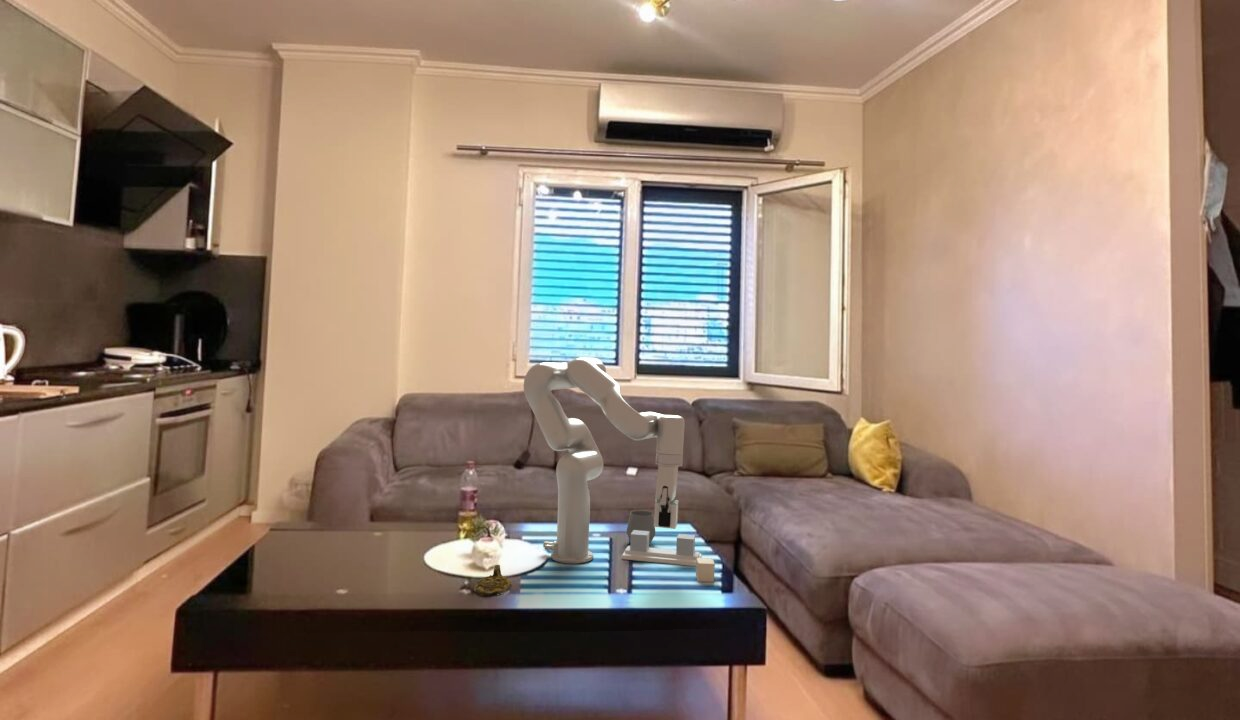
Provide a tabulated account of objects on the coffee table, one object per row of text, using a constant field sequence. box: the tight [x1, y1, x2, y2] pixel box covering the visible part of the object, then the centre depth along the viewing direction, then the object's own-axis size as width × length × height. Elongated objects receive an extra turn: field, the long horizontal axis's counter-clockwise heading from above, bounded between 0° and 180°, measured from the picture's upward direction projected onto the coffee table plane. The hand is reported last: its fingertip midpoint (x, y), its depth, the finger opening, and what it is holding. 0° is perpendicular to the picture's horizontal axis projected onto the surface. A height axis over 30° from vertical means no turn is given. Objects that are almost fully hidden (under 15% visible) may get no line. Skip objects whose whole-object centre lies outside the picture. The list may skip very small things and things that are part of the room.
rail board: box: [621, 530, 703, 567], centre depth 205 cm, size 23×9×7 cm, turn 79°
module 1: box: [653, 498, 679, 530], centre depth 190 cm, size 6×4×7 cm
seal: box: [473, 564, 512, 597], centre depth 175 cm, size 9×5×15 cm
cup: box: [626, 510, 656, 545], centre depth 220 cm, size 10×9×10 cm
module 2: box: [695, 557, 716, 583], centre depth 187 cm, size 4×5×5 cm
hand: (665, 523), depth 190 cm, fingers closed on module 1, 4 cm apart
